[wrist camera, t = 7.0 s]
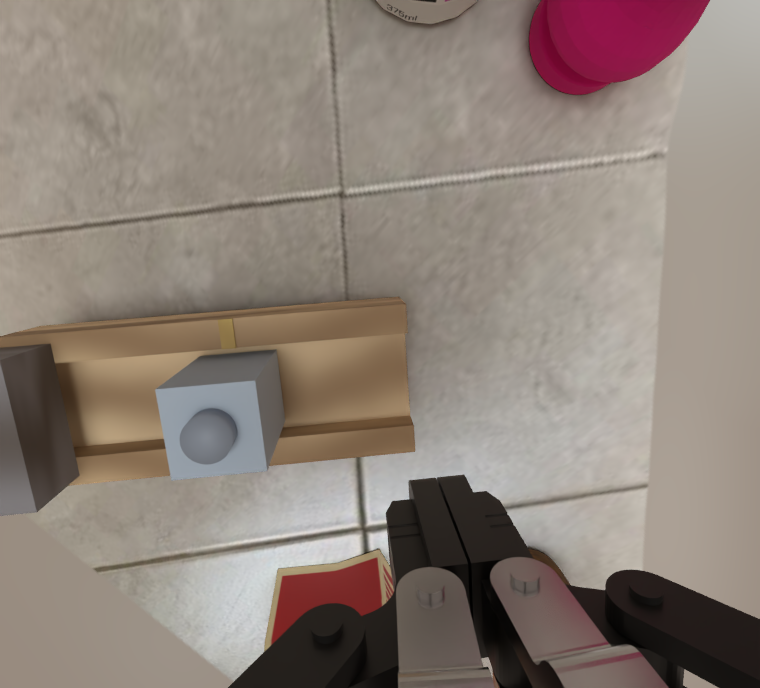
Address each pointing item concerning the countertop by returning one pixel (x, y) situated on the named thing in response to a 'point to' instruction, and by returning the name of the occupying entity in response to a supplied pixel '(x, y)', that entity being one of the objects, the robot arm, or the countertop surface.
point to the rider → (222, 415)
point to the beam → (169, 356)
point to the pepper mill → (606, 39)
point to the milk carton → (328, 589)
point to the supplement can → (426, 9)
